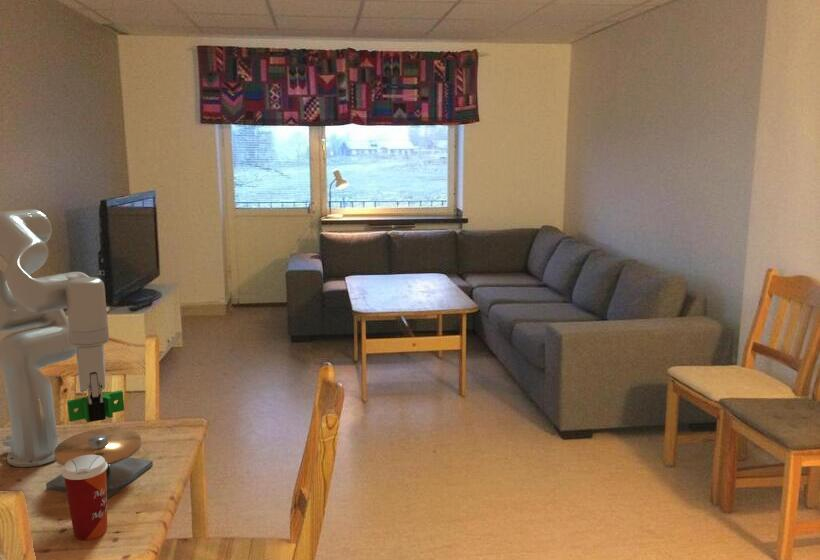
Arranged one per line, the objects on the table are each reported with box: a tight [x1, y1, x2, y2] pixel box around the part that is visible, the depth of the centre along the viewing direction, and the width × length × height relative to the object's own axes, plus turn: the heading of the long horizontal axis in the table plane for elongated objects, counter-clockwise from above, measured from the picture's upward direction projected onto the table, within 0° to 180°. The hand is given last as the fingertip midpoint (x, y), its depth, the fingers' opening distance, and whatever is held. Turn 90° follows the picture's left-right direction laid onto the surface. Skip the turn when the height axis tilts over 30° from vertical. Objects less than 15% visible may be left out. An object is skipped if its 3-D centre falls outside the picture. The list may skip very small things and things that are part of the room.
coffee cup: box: [61, 455, 108, 541], centre depth 138 cm, size 8×8×15 cm
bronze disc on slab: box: [45, 427, 154, 500], centre depth 160 cm, size 18×18×10 cm
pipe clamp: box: [66, 389, 125, 423], centre depth 152 cm, size 11×4×5 cm, turn 125°
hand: (97, 415), depth 153 cm, fingers closed on pipe clamp, 4 cm apart
